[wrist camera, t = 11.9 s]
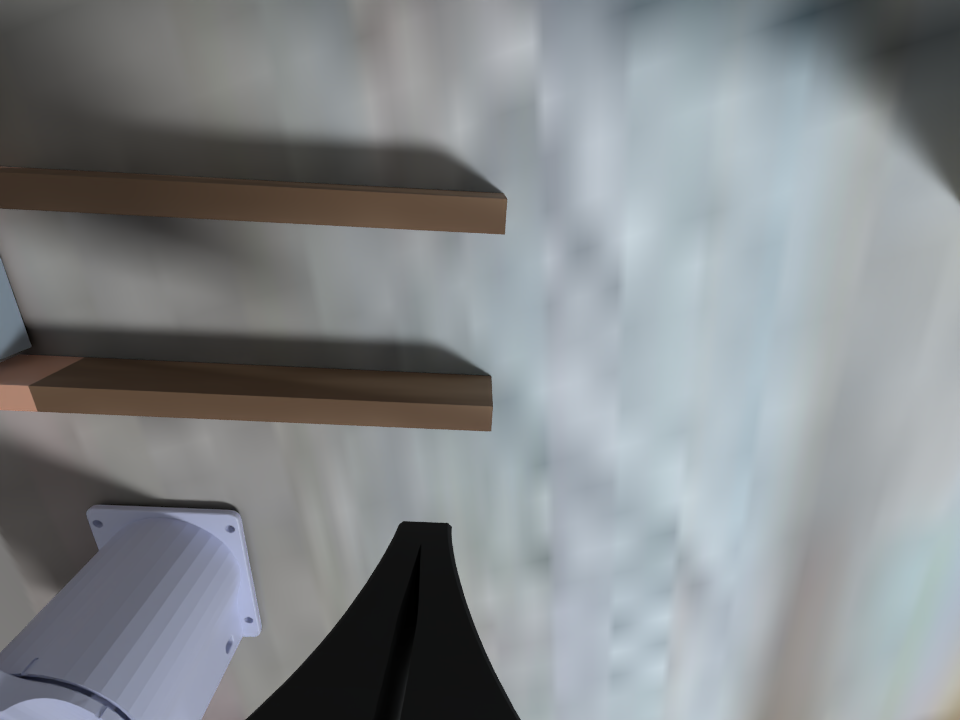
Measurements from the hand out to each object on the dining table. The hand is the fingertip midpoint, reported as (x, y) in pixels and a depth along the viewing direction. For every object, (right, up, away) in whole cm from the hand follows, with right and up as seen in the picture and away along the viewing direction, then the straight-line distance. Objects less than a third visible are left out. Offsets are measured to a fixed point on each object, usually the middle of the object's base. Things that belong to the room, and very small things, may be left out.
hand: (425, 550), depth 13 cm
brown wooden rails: (-9, +8, +8) cm, 14 cm away
